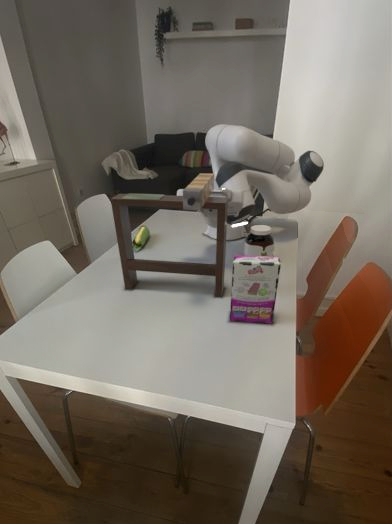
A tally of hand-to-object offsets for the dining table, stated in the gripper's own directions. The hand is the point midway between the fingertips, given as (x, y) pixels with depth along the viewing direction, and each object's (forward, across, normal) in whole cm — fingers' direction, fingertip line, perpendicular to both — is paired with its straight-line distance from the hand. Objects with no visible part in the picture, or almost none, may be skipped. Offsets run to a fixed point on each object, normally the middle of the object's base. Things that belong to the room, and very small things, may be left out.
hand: (207, 190), depth 89 cm
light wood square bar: (+8, 0, +5) cm, 10 cm away
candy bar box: (+7, +15, +34) cm, 38 cm away
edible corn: (-37, -31, +9) cm, 49 cm away
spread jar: (-28, +17, +14) cm, 36 cm away
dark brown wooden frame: (-4, -8, +28) cm, 29 cm away
